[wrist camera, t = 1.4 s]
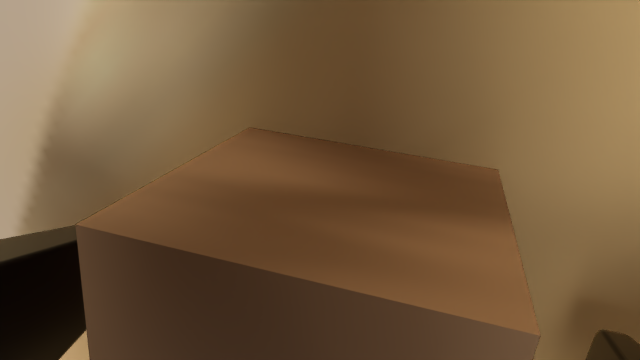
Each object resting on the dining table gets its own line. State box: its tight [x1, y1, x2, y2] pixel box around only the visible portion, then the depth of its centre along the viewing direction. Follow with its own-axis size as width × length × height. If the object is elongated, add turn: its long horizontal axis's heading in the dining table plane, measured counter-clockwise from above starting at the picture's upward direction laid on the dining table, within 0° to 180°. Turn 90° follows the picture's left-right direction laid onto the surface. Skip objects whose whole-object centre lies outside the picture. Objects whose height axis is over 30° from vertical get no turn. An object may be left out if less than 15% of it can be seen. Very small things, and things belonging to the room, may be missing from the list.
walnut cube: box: [75, 128, 540, 360], centre depth 8 cm, size 5×5×5 cm
